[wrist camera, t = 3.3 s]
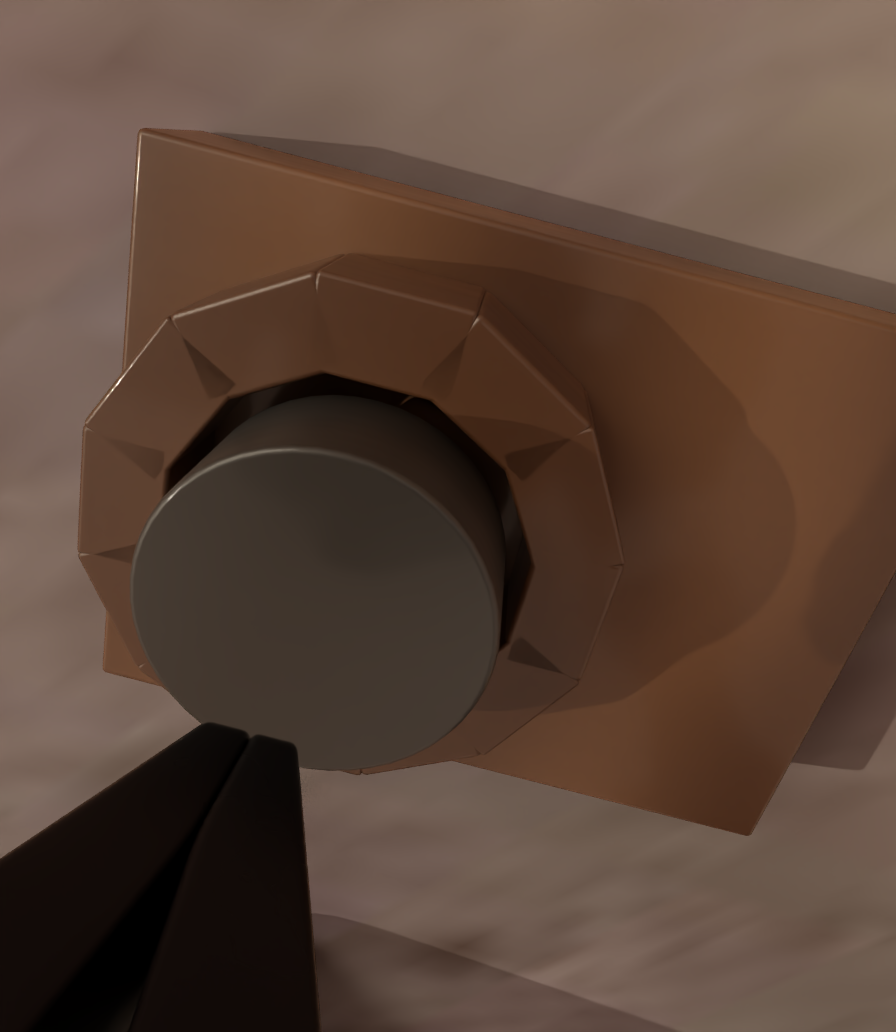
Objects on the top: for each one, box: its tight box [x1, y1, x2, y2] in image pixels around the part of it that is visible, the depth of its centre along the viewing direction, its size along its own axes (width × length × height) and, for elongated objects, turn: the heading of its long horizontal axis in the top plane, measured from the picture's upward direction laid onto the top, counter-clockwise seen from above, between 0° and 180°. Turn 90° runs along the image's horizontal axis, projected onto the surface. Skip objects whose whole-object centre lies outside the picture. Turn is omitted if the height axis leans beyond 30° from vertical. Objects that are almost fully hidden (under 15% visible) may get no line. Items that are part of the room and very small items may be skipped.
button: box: [130, 395, 506, 771], centre depth 10 cm, size 4×4×2 cm
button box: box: [78, 128, 896, 836], centre depth 13 cm, size 12×9×4 cm
